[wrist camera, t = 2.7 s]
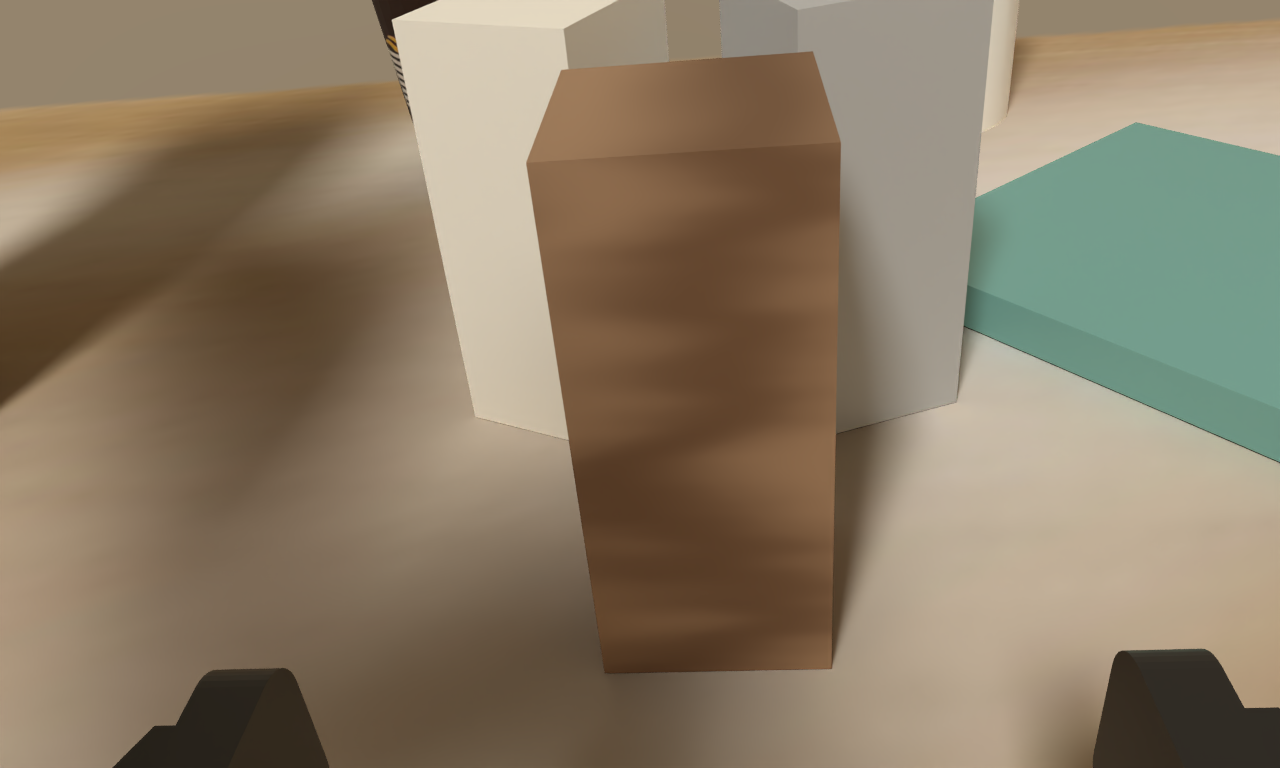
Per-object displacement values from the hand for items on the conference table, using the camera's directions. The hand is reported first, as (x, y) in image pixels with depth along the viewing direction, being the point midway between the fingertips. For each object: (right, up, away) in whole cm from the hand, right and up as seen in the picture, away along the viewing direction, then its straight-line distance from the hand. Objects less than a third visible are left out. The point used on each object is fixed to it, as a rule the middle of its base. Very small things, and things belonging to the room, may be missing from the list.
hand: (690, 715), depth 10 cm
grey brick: (+6, +3, +22) cm, 23 cm away
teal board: (+19, +7, +25) cm, 32 cm away
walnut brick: (+1, -2, +15) cm, 15 cm away
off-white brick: (-2, +3, +23) cm, 23 cm away
